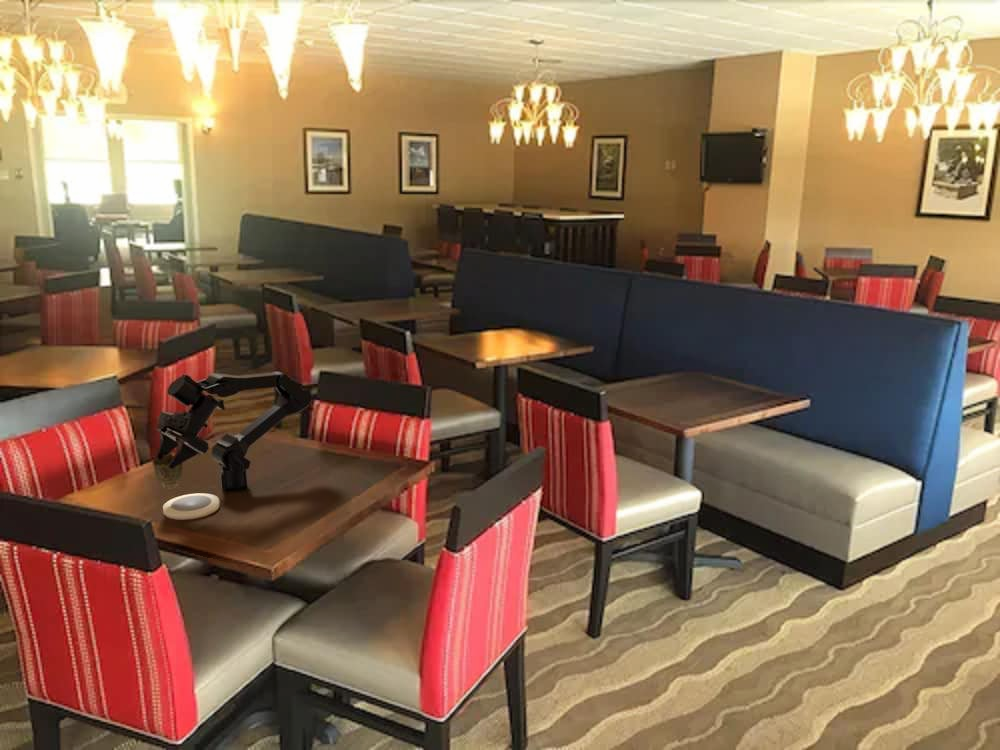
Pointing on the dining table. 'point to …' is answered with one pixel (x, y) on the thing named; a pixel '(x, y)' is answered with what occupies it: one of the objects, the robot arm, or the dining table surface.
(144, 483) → the dining table surface
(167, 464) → the cup
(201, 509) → the hub plate
